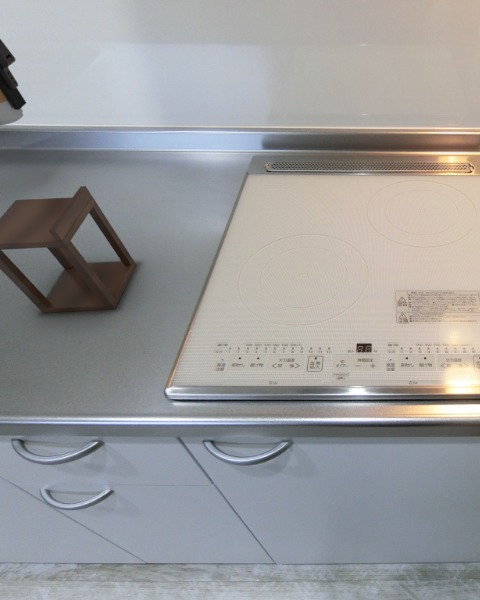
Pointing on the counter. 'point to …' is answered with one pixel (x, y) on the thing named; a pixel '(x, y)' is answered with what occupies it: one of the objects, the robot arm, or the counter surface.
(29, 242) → the shelf
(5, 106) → the coffee cup
